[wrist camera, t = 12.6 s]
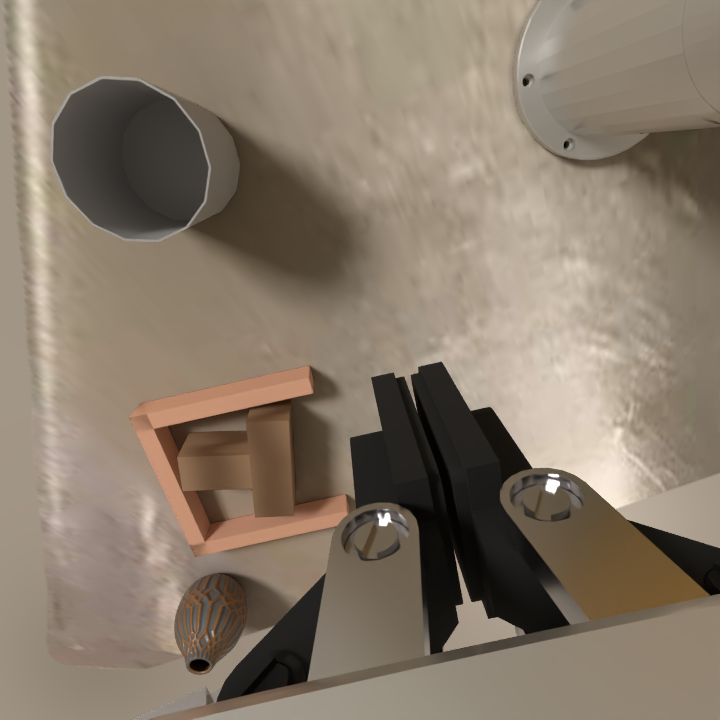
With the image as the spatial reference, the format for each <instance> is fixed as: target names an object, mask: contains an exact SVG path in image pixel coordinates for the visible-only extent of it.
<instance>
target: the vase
mask: <svg viewBox="0 0 720 720" xmlns="http://www.w3.org/2000/svg"><path fill="white" fill-rule="evenodd" d="M246 617H247V601H246V596H245V593H244V590H243V588H242V587H241V586H240V584H239V583H238V582H237V581H236V580H234V579H233V578H232V577H230V576H228V575H225V574H211V575H208V576H205V577H202V578H201V579H199V580H197V581H196V582H195V583H193V584H192V585H191V586H190V588H189V589H188V590H187V591H186V593H185V594H184V596H183V598H182V599H181V602H180V604H179V606H178V609H177V613H176V617H175V626H174V630H175V639H176V642H177V645H178V647H179V649H180V651H181V653H182V655H183V656H184V658H185V662H186V668H187V669H188V671H190V672H191V673H193V674H197V675H203V674H206V673H208V672H210V671H211V670H212V669H213V667H214V666H215V664H216V663H217V662H218V661H219V660H221V659H222V658H223V657H224V656H226V654H228V653H229V652H230V651H231V650H232V649H233V648H234V646H235V645H236V644H237V642H238V640H239V638H240V636H241V634H242V632H243V630H244V627H245V623H246Z"/></svg>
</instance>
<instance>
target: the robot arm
mask: <svg viewBox="0 0 720 720" xmlns="http://www.w3.org/2000/svg"><path fill="white" fill-rule="evenodd" d="M523 79H526V81H527V84H526V86H523V83H522V81H523ZM513 92H514V96H515V101H516V106H517V109H518V112H519V114H520V117H521V119H522V122H523V124H524V125H525V127H526V128H527V130H528V131H529V133H530V134H531V136H532V137H533V138H534V139H535V140H536V141H537V142H538V143H539V144H540V145H541V146H543V147H544V148H546V149H547V150H549V151H551V152H552V153H554V154H556V155H559V156H562V157H565V158H568V159H576V160H598V159H602V158H607V157H611V156H614V155H617V154H619V153H621V152H623V151H626V150H628V149H630V148H631V147H633V146H634V145H636V144H637V143H639V142H640V141H642V140H643V139H644V138H645V137H647V136H648V135H649V134H650V133H652V132H664V131H677V130H689V129H701V128H713V127H720V0H538V1H537V3H536V4H535V6H534V7H533V9H532V10H531V12H530V13H529V15H528V18H527V20H526V22H525V24H524V26H523V28H522V30H521V33H520V36H519V40H518V43H517V47H516V50H515V56H514V64H513ZM564 142H566V144H567V145H566V147H565V148H564ZM418 371H419V373H417V374H413V375H411V380H412V386H413V391H414V396H415V401H416V407H417V410H416V408H415V405H414V402H413V399H412V397H411V394H410V391H409V389H408V386H407V383H406V380H405V378H404V377H399V378H395V375H394V373H389V374H385V375H380V376H376V377H371V379H372V384H373V388H374V393H375V398H376V402H377V407H378V412H379V416H380V421H381V426H382V430H383V431H379V432H374V433H369V434H365V435H360V436H356V437H351V438H350V446H351V457H352V468H353V478H354V489H355V500H356V510H353V511H352V512H351V513H349V514H348V515H347V516H345V517H344V518H343V519H342V520H341V521H340V523H339V524H338V525H337V527H336V528H335V531H334V534H333V537H332V541H331V547H330V553H329V559H328V565H327V571H326V573H325V574H324V575H323V576H322V577H321V579H320V580H319V581H318V582H317V583H316V584H315V585H314V586H313V587H312V588H311V589H310V590H309V591H308V592H307V593H306V594H305V595H304V596H303V597H302V598H301V599H300V600H299V601H298V602H297V604H296V605H295V606H294V607H293V608H292V609H291V610H290V611H289V612H288V613H287V614H286V615H285V616H284V617H283V618H282V619H281V620H280V621H279V622H278V623H277V624H276V625H275V626H274V627H273V629H272V630H271V631H270V632H269V633H268V634H267V635H266V636H265V637H264V638H263V639H262V640H261V641H260V642H259V643H258V644H257V645H256V646H255V647H254V648H253V649H252V651H251V652H250V653H249V654H248V655H247V656H246V657H245V658H244V659H243V660H242V661H241V662H240V663H239V664H238V665H237V666H236V667H235V669H234V670H233V671H232V673H231V674H230V675H229V676H228V678H227V679H226V680H225V682H224V684H223V686H222V688H221V689H219V690H217V691H214V692H212V693H209V691H208V689H207V687H204V688H201V689H199V690H197V691H195V692H192V693H190V694H188V695H186V696H184V697H181V698H179V699H177V700H174V701H172V702H170V703H168V704H166V705H163V706H161V707H159V708H157V709H154V710H152V711H150V712H148V713H145V714H143V715H141V716H139V717H137V718H134V719H132V720H720V548H717V547H714V546H710V545H707V544H704V543H701V542H698V541H694V540H690V539H688V538H685V537H681V536H678V535H675V534H672V533H668V532H665V531H662V530H658V529H655V528H652V527H649V526H645V525H642V524H639V523H636V522H633V521H629V520H626V519H625V518H624V517H623V516H622V515H621V514H620V513H619V512H618V511H617V510H615V509H614V508H613V507H612V506H611V505H610V504H609V503H608V502H607V501H606V500H604V499H603V498H602V497H601V496H600V495H599V494H598V493H597V492H596V491H594V490H593V489H592V488H591V487H590V486H589V485H588V484H587V483H586V482H584V481H583V480H581V479H580V478H578V477H577V476H575V475H573V474H571V473H568V472H565V471H563V470H557V469H552V468H532V467H531V465H530V464H529V462H528V461H527V459H526V458H525V456H524V455H523V453H522V452H521V450H520V449H519V448H518V446H517V445H516V443H515V442H514V440H513V439H512V437H511V436H510V434H509V433H508V431H507V430H506V428H505V427H504V425H503V424H502V422H501V421H500V419H499V418H498V416H497V415H496V413H495V412H494V411H493V409H492V408H491V407H487V408H482V409H478V410H473V411H470V409H469V408H468V406H467V404H466V403H465V401H464V399H463V397H462V396H461V394H460V392H459V390H458V389H457V387H456V385H455V384H454V382H453V380H452V378H451V377H450V375H449V373H448V372H447V370H446V368H445V366H444V365H443V363H442V362H438V363H434V364H429V365H425V366H420V367H418ZM417 412H418V413H417ZM454 551H455V554H456V557H457V560H458V563H459V566H460V569H461V572H462V575H463V578H464V581H465V584H466V587H467V590H468V593H469V596H470V599H471V601H472V602H475V601H480V600H482V602H483V605H484V608H485V610H486V613H487V616H488V619H490V618H495V617H499V618H501V619H503V620H505V621H507V622H509V623H511V624H512V625H515V630H516V634H517V636H516V637H512V638H507V639H503V640H498V641H493V642H489V643H484V644H479V645H474V646H470V647H465V648H460V649H456V650H451V651H446V652H445V651H444V644H445V643H446V642H447V640H448V638H449V637H450V635H451V634H452V632H453V631H454V629H455V628H456V626H457V625H458V623H459V622H458V617H457V611H456V605H461V604H463V599H462V593H461V589H460V582H459V577H458V571H457V565H456V560H455V554H454Z"/></svg>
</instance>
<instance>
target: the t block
mask: <svg viewBox="0 0 720 720" xmlns="http://www.w3.org/2000/svg"><path fill="white" fill-rule="evenodd" d="M246 427H247V431H217V432H189V434H188V436H187V438H186V440H185V442H184V444H183V446H182V448H181V450H180V452H179V455H178V457H177V460H178V466H179V472H180V478H181V484H182V490H183V491H199V490H226V489H252V490H253V500H254V511H255V518H259V517H283V516H294V509H295V496H296V476H295V456H294V436H293V417H292V398H289V399H285V400H280V401H276V402H272V403H267V404H263V405H258V406H254V407H250V410H249V413H248V417H247V420H246Z"/></svg>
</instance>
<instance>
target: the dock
mask: <svg viewBox="0 0 720 720" xmlns="http://www.w3.org/2000/svg"><path fill="white" fill-rule="evenodd" d="M313 384H314V380H313V376H312V373H311V369H310V366H306V367H301V368H297V369H293V370H288V371H284V372H279V373H275V374H270V375H266V376H261V377H257V378H253V379H248V380H244V381H239V382H235V383H230V384H226V385H221V386H217V387H213V388H208V389H204V390H199V391H195V392H190V393H186V394H181V395H177V396H173V397H168V398H164V399H159V400H155V401H150V402H146V403H141V404H140V405H139V406H138V407H137V408H136V410H135V411H134V412H133V414H132V415H131V416H130V420H131V422H132V424H133V426H134V429H135V431H136V433H137V435H138V437H139V439H140V441H141V443H142V445H143V448H144V450H145V452H146V454H147V456H148V458H149V460H150V462H151V465H152V467H153V469H154V471H155V473H156V475H157V477H158V479H159V481H160V484H161V486H162V488H163V490H164V492H165V494H166V496H167V498H168V501H169V503H170V505H171V507H172V509H173V511H174V513H175V515H176V517H177V520H178V522H179V524H180V526H181V528H182V530H183V532H184V534H185V536H186V539H187V541H188V543H189V545H190V547H191V549H192V551H193V553H194V556H195V557H197V556H201V555H206V554H211V553H215V552H220V551H224V550H229V549H234V548H238V547H243V546H247V545H252V544H256V543H261V542H266V541H270V540H275V539H279V538H284V537H289V536H293V535H298V534H302V533H307V532H311V531H316V530H321V529H325V528H330V527H334V526H337V525H338V524H339V523H340V521H341V520H342V519H343V518H344V517H345V516H347V515H348V514H349V504H348V501H347V497H346V494H344V495H340V496H335V497H331V498H326V499H321V500H317V501H312V502H308V503H303V504H299V505H295V509H294V516H283V517H259V518H255V514H253V515H249V516H244V517H239V518H235V519H230V520H226V521H221V522H217V523H212V524H210V521H209V519H208V517H207V515H206V512H205V510H204V508H203V505H202V503H201V501H200V499H199V496H198V494H197V492H196V491H183V490H182V484H181V478H180V472H179V466H178V460H177V457H178V455H179V451H178V448H177V446H176V444H175V442H174V439H173V437H172V435H171V432H170V430H169V428H168V426H169V425H173V424H178V423H182V422H187V421H191V420H196V419H200V418H205V417H209V416H213V415H218V414H222V413H227V412H231V411H236V410H240V409H245V408H249V407H254V406H258V405H263V404H267V403H272V402H276V401H280V400H285V399H289V398H294V397H298V396H303V395H307V394H312V393H313Z"/></svg>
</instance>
